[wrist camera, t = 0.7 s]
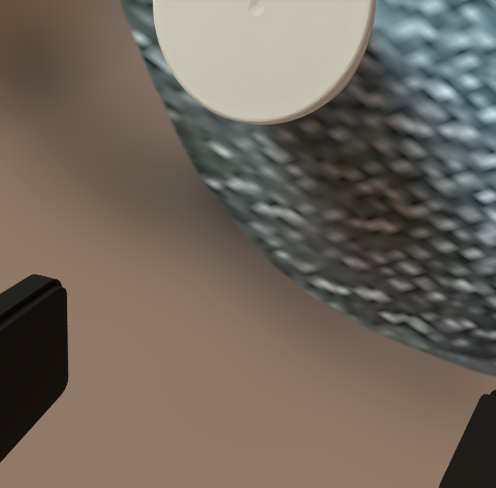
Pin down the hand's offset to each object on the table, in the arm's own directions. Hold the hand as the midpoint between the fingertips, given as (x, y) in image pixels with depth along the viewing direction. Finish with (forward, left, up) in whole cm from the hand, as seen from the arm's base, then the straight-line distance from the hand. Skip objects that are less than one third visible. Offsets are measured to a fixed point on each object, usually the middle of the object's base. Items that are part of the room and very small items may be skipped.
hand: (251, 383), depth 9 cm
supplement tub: (-6, -7, -26) cm, 28 cm away
